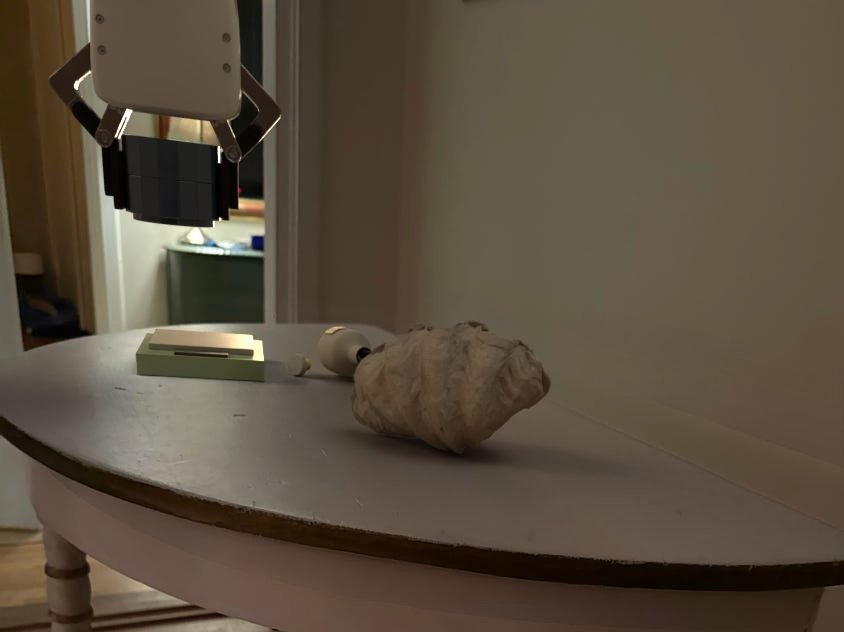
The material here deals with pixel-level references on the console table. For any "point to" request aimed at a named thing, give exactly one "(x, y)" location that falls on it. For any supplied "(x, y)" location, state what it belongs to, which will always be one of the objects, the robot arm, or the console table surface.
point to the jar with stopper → (335, 352)
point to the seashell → (447, 385)
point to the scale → (201, 355)
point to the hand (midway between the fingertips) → (173, 212)
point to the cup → (171, 181)
